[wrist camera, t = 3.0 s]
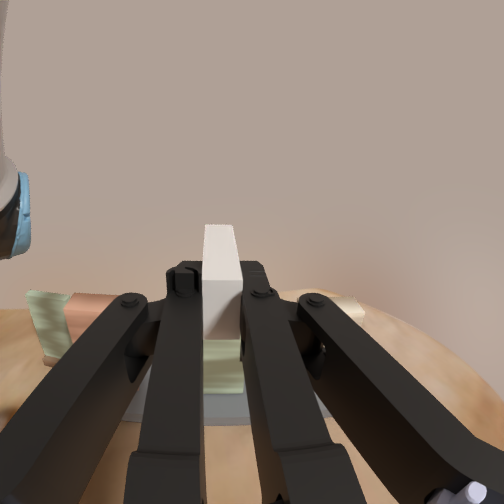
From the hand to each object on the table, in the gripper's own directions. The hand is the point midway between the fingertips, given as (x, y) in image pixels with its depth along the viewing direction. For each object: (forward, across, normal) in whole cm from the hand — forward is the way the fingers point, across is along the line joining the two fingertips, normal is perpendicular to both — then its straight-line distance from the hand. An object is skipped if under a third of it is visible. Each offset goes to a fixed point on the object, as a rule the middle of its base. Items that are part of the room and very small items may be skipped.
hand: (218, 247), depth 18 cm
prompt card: (+11, -19, -20) cm, 30 cm away
